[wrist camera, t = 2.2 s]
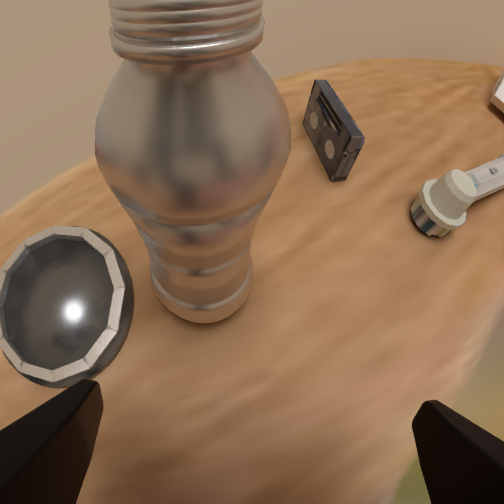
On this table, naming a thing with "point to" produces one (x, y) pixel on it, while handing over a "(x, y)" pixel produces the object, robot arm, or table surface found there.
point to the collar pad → (64, 305)
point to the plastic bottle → (192, 144)
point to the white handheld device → (455, 196)
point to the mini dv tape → (332, 131)
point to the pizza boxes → (499, 93)
